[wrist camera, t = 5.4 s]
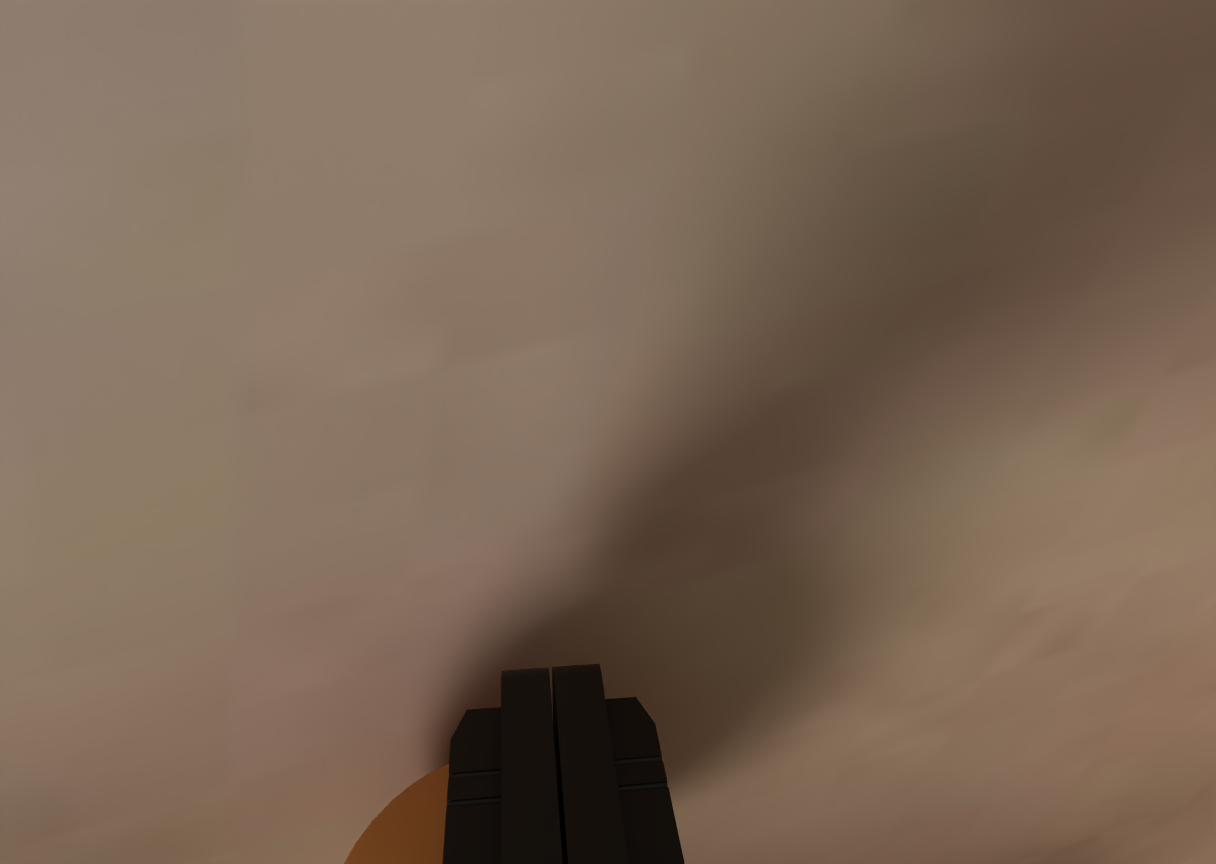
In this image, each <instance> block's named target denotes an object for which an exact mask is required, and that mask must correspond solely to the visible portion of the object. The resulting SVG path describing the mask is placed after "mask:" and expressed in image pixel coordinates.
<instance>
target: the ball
mask: <svg viewBox="0 0 1216 864" xmlns="http://www.w3.org/2000/svg"><path fill="white" fill-rule="evenodd" d="M448 780H449V764H447V765H445V766H443V767H441V768H439V769H436V770H434V771H432V772H431V773H429V774H428V775H426V776H424V777H423V778H421V779H420V780H418V781H417V782H415V783H413V784H412V785H410V786H409V787H408V788H407V789H406V790H404V791H403V792H402V793H401V794H400V795H398V796H397V797H396V798H395V799H393V800H392V801H391V802H390V803H389V804H388V805H387V806H386V807H385V809H384V810H383V811H382V812H381V813H380V814H379V815H378V816H377V817H376V818H375V819H374V820H373V821H372V822H371V824H370V825H369V826H368V828H367V829H366V830H365V832H364V833H363V834H362V836H361V837H360V838H359V840H358V841H357V842H356V844H355V846H354V847H353V849H352V851H351V852H350V854H349V856H348V858H347V859H346V861H345V863H344V864H442V863H443V848H444V834H445V819H446V808H447V789H448Z"/></svg>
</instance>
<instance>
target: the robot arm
mask: <svg viewBox="0 0 1216 864" xmlns="http://www.w3.org/2000/svg"><path fill="white" fill-rule="evenodd" d="M552 692H553V720H552V706H551V692H550V678H549V668H535V669H521V670H506V671H502V673H501V707H499V708H485V709H472V710H467V711H466V713H465V715H464V716H463V718H462V720H461V722H460V724H459V726H458V727H457V729H456V731H455V733H454V735H453V737H452V738H451V744H450V759H449V780H448V789H447V808H446V819H445V834H444V848H443V863H442V864H684V859H683V854H682V849H681V845H680V840H679V835H678V830H677V826H676V821H675V816H674V811H673V807H672V802H671V797H670V792H669V788H668V786H667V778H666V773H665V769H664V764H663V761H662V754H661V750H660V745H659V740H658V735H657V731H656V726H655V723H654V721H653V720H652V719H651V717H650V716H649V715H648V713H647V712H646V711H645V709H644V708H643V706H642V705H641V704H640V702H639V701H638V700H637V698H636V697H630V698H617V699H605V696H604V689H603V682H602V676H601V669H600V665H599V664H590V665H575V666H561V667H552Z"/></svg>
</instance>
